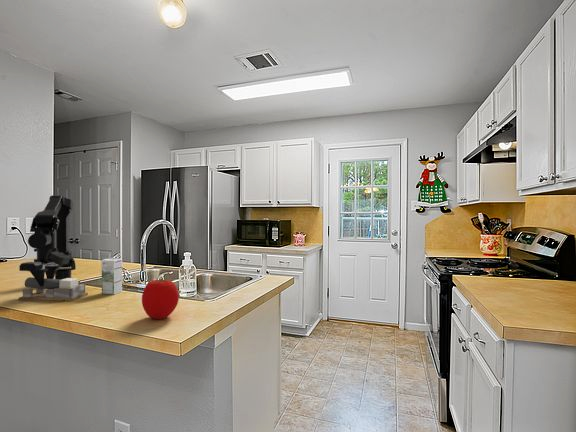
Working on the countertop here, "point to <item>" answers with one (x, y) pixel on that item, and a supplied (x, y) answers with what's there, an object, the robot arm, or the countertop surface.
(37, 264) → the robot arm
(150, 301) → the red apple
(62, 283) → the gray rod with block
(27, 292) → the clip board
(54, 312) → the countertop surface
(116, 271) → the syrup box
